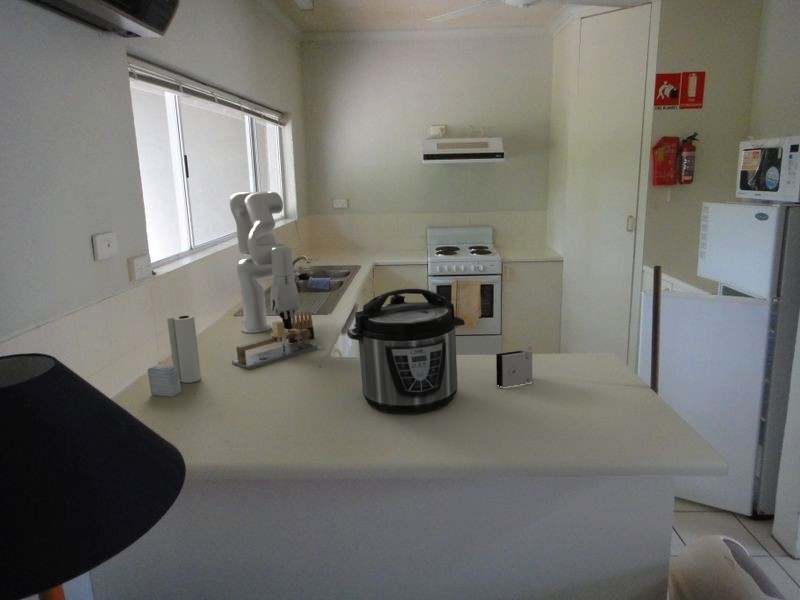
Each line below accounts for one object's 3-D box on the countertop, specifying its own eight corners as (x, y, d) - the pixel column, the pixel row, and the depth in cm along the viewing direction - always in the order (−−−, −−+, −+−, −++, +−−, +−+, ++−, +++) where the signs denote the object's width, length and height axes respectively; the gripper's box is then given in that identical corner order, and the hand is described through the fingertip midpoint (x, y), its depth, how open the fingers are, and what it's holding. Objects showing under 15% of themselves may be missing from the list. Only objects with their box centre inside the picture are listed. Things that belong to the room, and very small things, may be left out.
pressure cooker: (340, 414, 154) (332, 298, 148) (376, 379, 180) (370, 280, 174) (449, 423, 145) (446, 301, 138) (470, 385, 171) (468, 281, 165)
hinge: (529, 376, 177) (529, 345, 175) (542, 381, 172) (542, 349, 170) (494, 386, 170) (494, 353, 168) (506, 391, 165) (505, 358, 163)
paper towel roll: (205, 378, 189) (197, 315, 185) (191, 384, 183) (183, 319, 179) (188, 376, 192) (181, 313, 188) (175, 382, 186) (166, 318, 182)
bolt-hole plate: (232, 363, 203) (231, 360, 203) (299, 344, 225) (299, 341, 224) (249, 369, 196) (249, 366, 196) (317, 348, 217) (317, 345, 217)
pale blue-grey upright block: (181, 392, 176) (178, 365, 175) (171, 397, 172) (168, 370, 171) (161, 390, 179) (157, 364, 177) (150, 395, 175) (146, 368, 173)
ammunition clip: (312, 337, 234) (310, 309, 232) (314, 338, 232) (312, 309, 230) (288, 342, 228) (285, 313, 226) (290, 343, 227) (287, 314, 224)
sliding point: (272, 350, 212) (269, 322, 209) (281, 348, 214) (278, 320, 212) (280, 353, 208) (277, 324, 206) (289, 350, 211) (286, 322, 209)
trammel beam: (238, 362, 200) (236, 343, 199) (306, 343, 222) (304, 326, 220) (244, 364, 198) (242, 345, 196) (312, 344, 219) (311, 327, 218)
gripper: (293, 276, 217) (297, 323, 221) (260, 282, 206) (264, 331, 210) (306, 277, 212) (309, 325, 216) (272, 284, 201) (277, 334, 205)
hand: (287, 328), depth 213 cm, fingers closed
